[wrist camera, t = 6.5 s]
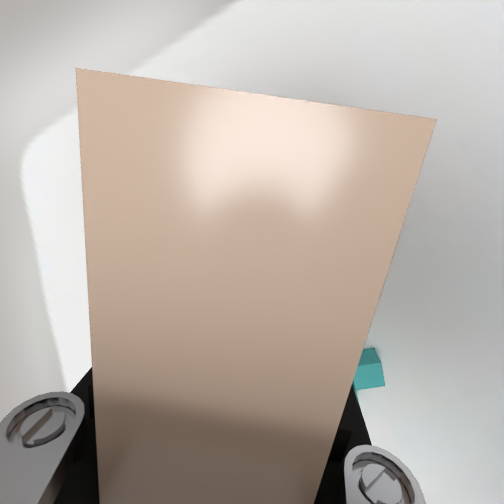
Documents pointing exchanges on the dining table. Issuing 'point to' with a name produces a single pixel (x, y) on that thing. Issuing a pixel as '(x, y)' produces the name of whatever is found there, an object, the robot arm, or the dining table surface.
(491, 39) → the dining table surface
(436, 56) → the dining table surface
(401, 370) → the dining table surface
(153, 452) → the beige rectangular block
